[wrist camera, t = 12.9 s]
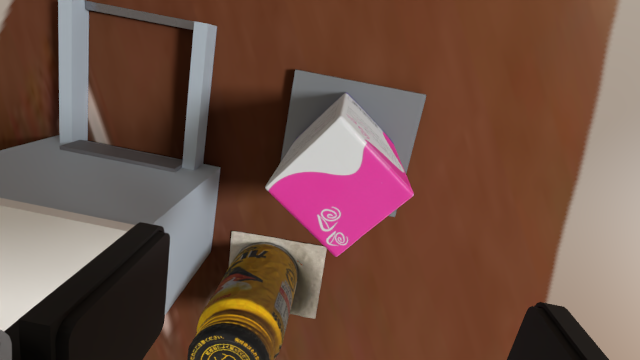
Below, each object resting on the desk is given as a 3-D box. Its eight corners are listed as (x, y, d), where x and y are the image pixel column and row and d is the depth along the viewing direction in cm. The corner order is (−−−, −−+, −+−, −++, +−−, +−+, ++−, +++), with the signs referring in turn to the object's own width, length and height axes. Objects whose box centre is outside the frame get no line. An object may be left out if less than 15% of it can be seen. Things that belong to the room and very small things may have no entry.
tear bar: (90, 1, 31) (85, 0, 30) (202, 23, 31) (199, 22, 30) (90, 10, 31) (85, 9, 30) (202, 31, 31) (199, 31, 30)
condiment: (232, 230, 35) (175, 311, 24) (327, 245, 35) (315, 336, 24) (226, 301, 38) (171, 407, 26) (315, 316, 37) (299, 430, 26)
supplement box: (291, 142, 32) (259, 186, 21) (346, 90, 30) (343, 107, 19) (341, 194, 33) (336, 261, 22) (397, 145, 31) (421, 192, 20)
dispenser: (54, -6, 31) (-168, -53, 18) (238, 30, 31) (153, 8, 17) (57, 222, 36) (-109, 315, 23) (212, 254, 36) (133, 366, 23)
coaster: (296, 69, 31) (295, 69, 30) (424, 94, 31) (426, 95, 30) (277, 190, 34) (275, 193, 33) (393, 213, 34) (394, 217, 33)
